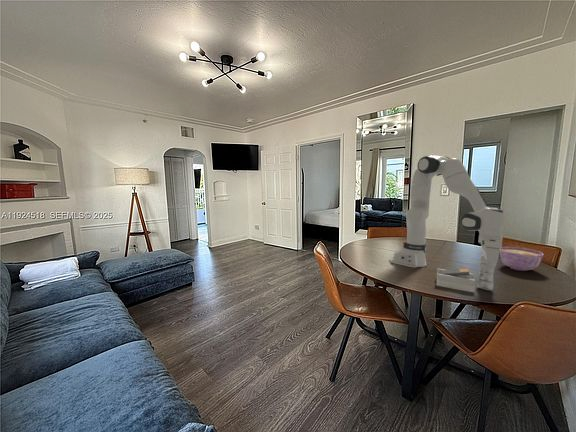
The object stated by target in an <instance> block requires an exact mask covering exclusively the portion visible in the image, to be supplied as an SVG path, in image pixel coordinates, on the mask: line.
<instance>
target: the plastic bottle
mask: <svg viewBox="0 0 576 432" xmlns="http://www.w3.org/2000/svg"><path fill="white" fill-rule="evenodd" d="M486 265H487V262H486V260H485V258H484V256H483V255H482V256H481V257H480V259H479V273H478V274H479V275H478V278H477V281H476V286H477V287H478V289H481V290H484V291H492V290H493V289H494V286H495V285H494V272H495V269H496V266H497V263H496V264H492V267H491V270H487V269H486Z"/></svg>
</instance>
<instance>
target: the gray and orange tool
mask: <svg viewBox="0 0 576 432" xmlns="http://www.w3.org/2000/svg"><path fill="white" fill-rule="evenodd" d="M469 273H470V271H469V268H459V269H457V268H456V269H445V270H441V274H443V275H449V276H463V275H469Z"/></svg>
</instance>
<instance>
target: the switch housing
mask: <svg viewBox="0 0 576 432" xmlns="http://www.w3.org/2000/svg"><path fill="white" fill-rule="evenodd" d="M436 269H437V270H436V283H435V284H436V286H437V287H442V288H447V289H453V290H458V291H463V292H469V293H475V291H476V290H475V289H476V279H474V274H473V273H470V272H469V275H463V276H449V275H443V274H441V270H446V269H442V268H436Z"/></svg>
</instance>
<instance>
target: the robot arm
mask: <svg viewBox="0 0 576 432" xmlns="http://www.w3.org/2000/svg"><path fill="white" fill-rule="evenodd" d="M416 167H417V168H416V169H415V170H414V173H413V175H412V181H411V188H410V196H409V198H410V208H409V209H408V210H407V211H406V214H405V218H406V219H405V220H406V240H404V241H403V242H402V247H400V248H399V249H397V250H396V251H395V252H394V254H393V256H392V257H390V258H389V262H390V263H392V264H395V265H401V266H405V267H409V268H413V269H414V268H424V267H426V266H427V261H426V251H427V244H426V238H427V230H426V220H427V219H428V217H429V212H430V197H431V187H432V181H433V178H434V177H435V176H437V177H439V176H441V175H442V177H443V180H444V183H445V186H446V188H447V189H448V191H450V192H451V193H454V194H456V195H458V196H459V195H460V196H462V197H464V198H465V199H467V200H468V202H469V204H470V205H471V208H472V209H473V211H471V212H466V213H464V214H462V215H461V217H460V219H459V224H460V226H461V228H462V229H464V230H466V231H470V232H473V231H476V232H477V231H478V234H479V235H478V243H479V244H480V246H481V249H480V253H481V255H482V256H484V258H485V260H486V262H487V265H486V269H487V270H491V267H492V264H496V265H497V263H498V261H499V256H500V248H502V247H503V239H504V238H503V237H504V235H503V229H504V228H505V212H504V210H503V209H500V208H497V207H492V206H488V204H487V202H486V200H485V198H484V197H483V195H482V193H481V191H480V190H479V188H477V186H476V185H475V184H474V183H473V181H472V179H471V177H470V175H469V173H468V171H467V169H466V166H465V165H464V164H463V162H462V161H461V160H460V159H459V158H458V157H456V158H454V157H451V158H450V157H449V156H442V155H426V156H423V157H420V159H419V160H418V162H417V166H416Z"/></svg>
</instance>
